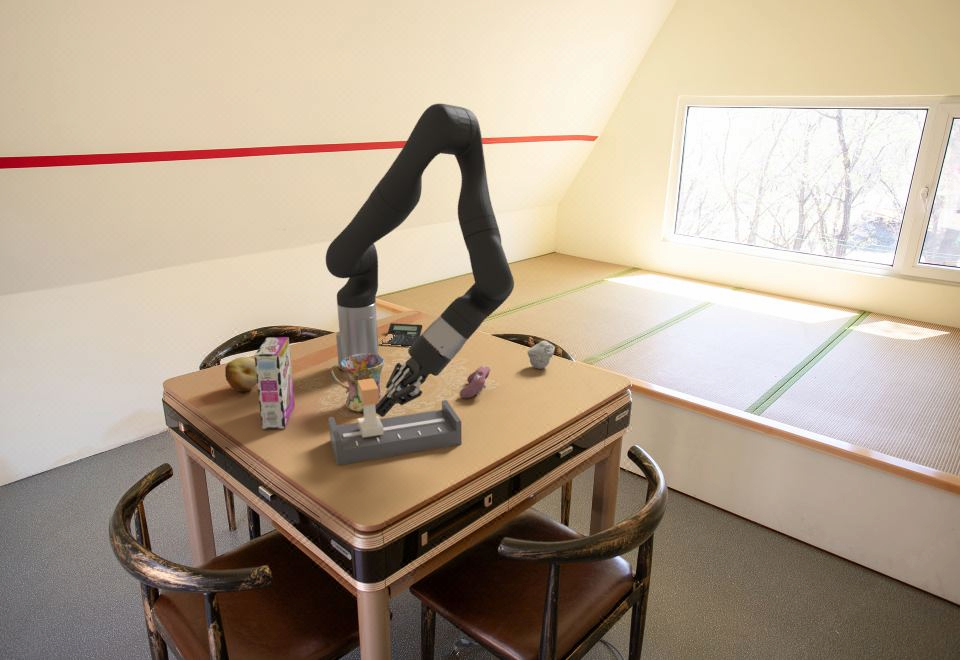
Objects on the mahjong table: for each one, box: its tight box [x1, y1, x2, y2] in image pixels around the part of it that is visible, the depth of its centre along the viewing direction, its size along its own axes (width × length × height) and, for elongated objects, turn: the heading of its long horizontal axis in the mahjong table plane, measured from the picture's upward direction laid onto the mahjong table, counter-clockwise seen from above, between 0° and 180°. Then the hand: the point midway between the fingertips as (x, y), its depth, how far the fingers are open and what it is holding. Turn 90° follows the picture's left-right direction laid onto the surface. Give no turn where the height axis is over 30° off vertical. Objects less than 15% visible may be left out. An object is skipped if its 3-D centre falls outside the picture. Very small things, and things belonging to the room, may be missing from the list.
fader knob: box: [357, 378, 384, 438], centre depth 125 cm, size 4×5×10 cm
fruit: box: [224, 356, 257, 392], centre depth 151 cm, size 8×8×8 cm
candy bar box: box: [254, 336, 296, 430], centre depth 136 cm, size 11×5×16 cm, turn 5°
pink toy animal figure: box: [459, 365, 491, 399], centre depth 151 cm, size 10×5×7 cm, turn 169°
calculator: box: [381, 322, 423, 346], centre depth 185 cm, size 9×12×3 cm
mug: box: [330, 354, 386, 413], centre depth 143 cm, size 12×9×11 cm
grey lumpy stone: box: [527, 340, 556, 370], centre depth 164 cm, size 6×7×7 cm
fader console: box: [328, 399, 463, 466], centre depth 128 cm, size 24×10×5 cm, turn 109°
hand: (377, 413), depth 126 cm, fingers closed
